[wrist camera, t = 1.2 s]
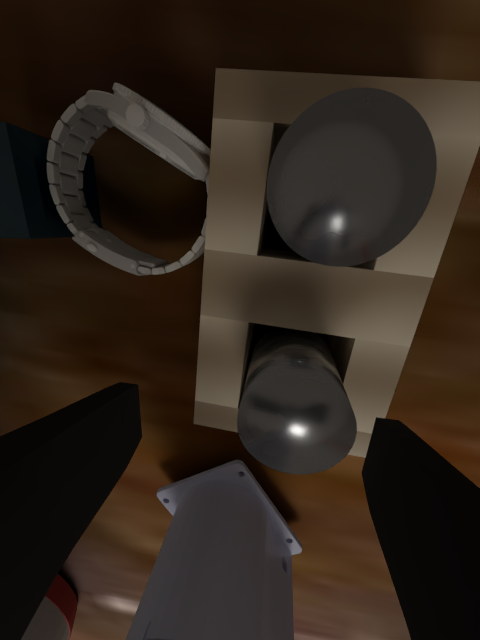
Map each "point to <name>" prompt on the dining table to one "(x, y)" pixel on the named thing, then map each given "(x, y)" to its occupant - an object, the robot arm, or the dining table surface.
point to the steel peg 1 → (351, 177)
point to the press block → (302, 274)
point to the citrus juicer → (54, 614)
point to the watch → (89, 175)
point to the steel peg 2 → (295, 405)
